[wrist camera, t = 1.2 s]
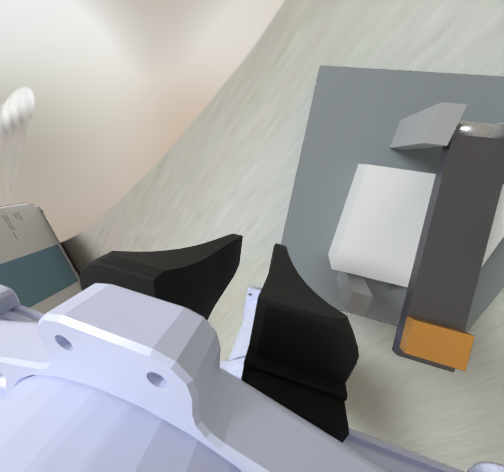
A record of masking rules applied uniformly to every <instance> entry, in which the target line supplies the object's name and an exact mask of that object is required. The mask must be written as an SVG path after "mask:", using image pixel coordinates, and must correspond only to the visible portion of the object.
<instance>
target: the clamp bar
mask: <svg viewBox="0 0 504 472" xmlns="http://www.w3.org/2000/svg"><path fill="white" fill-rule="evenodd" d="M503 182H504V125H500V124H489V123H479V122H469V121H459V123H458V125H457V127H456V129H455V131H454V133H453V135H452V137H451V139H450V141H449V143H448V145H447V146H443V148H442V152H441V156H440V160H439V164H438V168H437V172H436V176H435V180H434V184H433V188H432V192H431V196H430V200H429V204H428V208H427V212H426V216H425V220H424V224H423V228H422V232H421V236H420V240H419V244H418V248H417V252H416V256H415V260H414V264H413V268H412V272H411V276H410V280H409V284H408V288H407V292H406V296H405V300H404V304H403V308H402V312H401V316H400V320H399V324H398V328H397V332H396V336H395V340H394V344H393V348H392V350H393V351H394V352H395V353H396V354H397V355H398V356H401V357H405V358H408V359H411V360H415V361H418V362H421V363H424V364H428V365H431V366H434V367H438V368H441V369H444V370H448V371H451V372H454V370H455V368H456V369H460V370H463V371H466V367H467V363H468V360H469V356H470V352H471V348H472V344H473V341H474V337H475V336H473V335H471V334H469V333H468V332H466V331H465V328H466V324H467V320H468V316H469V312H470V309H471V305H472V301H473V297H474V293H475V289H476V286H477V282H478V278H479V274H480V270H481V266H482V263H483V259H484V255H485V251H486V247H487V243H488V240H489V236H490V232H491V228H492V224H493V220H494V217H495V213H496V209H497V205H498V201H499V197H500V194H501V190H502V186H503Z"/></svg>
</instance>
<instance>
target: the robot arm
mask: <svg viewBox="0 0 504 472" xmlns="http://www.w3.org/2000/svg"><path fill="white" fill-rule="evenodd" d="M242 238H243V236H241V235H236V234H230V235H227V236H224V237H222V238H219V239H216V240H213V241H210V242H207V243H203V244H200V245H196V246H192V247H187V248H182V249H175V250H167V251H154V252H125V251H112V252H110V253H108V254H106V255H104V256H102V257H100V258H98V259H96V260H94V261H92V262H90V263H88V264H86V265H85V266H84V267H83V268H82V270H81V273H80V284H81V288H82V292H80V293H78V294H77V295H75V296H73V297H72V298H70V299H69V300H67V301H65V302H64V303H62V304H60V305H59V306H57V307H55V308H54V309H52V310H51V311H49V312H47V313H46V314H44V313H41V312H38V311H36V310H33V309H30V308H28V307H25V306H22V305H20V301H19V298H18V296H17V295H16V293H15V292H14V291H13V290H12V289H10V288H9V287H6V286H3V285H1V284H0V472H464V471H461V470H458V469H456V468H453V467H450V466H448V465H445V464H442V463H440V462H437V461H434V460H432V459H429V458H426V457H424V456H421V455H418V454H416V453H413V452H410V451H408V450H405V449H402V448H400V447H397V446H394V445H392V444H389V443H386V442H384V441H381V440H379V439H376V438H373V437H371V436H368V435H365V434H363V433H360V432H357V431H355V430H352V429H349V428H348V421H347V415H346V409H345V402H344V401H346V399H347V391H346V385H345V383H346V381H347V379H348V378H349V376H350V374H351V372H352V370H353V369H354V367H355V365H356V363H357V360H358V357H359V354H358V346H357V343H356V339H355V336H354V333H353V330H352V327H351V325H350V323H349V320H348V318H347V316H346V315H345V314H343V313H342V312H340V311H339V310H337V309H336V308H334V307H333V306H331V305H330V304H328V303H327V302H326V301H325V300H323V299H322V298H321V297H320V296H319V295H318V294H316V293H315V292H314V291H313V290H312V289H311V288H310V287H309V286H308V285H307V284H306V282H305V281H304V280H303V279H302V278H301V276H300V275H299V273H298V272H297V270H296V269H295V267H294V265H293V263H292V261H291V259H290V256H289V253H288V250H287V247H286V246H284V245H280V244H275V246H274V249H273V254H272V259H271V264H270V269H269V274H268V276H267V279H266V281H265V283H264V286H263V288H262V290H260V289H257V288H253V287H249V288H248V291H247V297H246V303H245V309H244V316H243V322H242V325H241V328H240V330H239V333H238V336H237V338H236V341H235V343H234V346H233V348H232V351H231V354H230V356H229V359H228V361H224V360H222V361H221V364H220V365H219V359H220V344H219V340H218V336H217V333H216V331H215V329H214V328H213V327H212V326H211V325H210V324H209V322H208V321H207V320H208V318H209V316H210V314H211V312H212V310H213V308H214V306H215V305H216V303H217V301H218V300H219V298H220V297H221V295H222V294H223V292H224V291H225V289H226V288H227V286H228V284H229V283H230V281H231V280H232V278H233V277H234V275H235V272H236V270H237V268H238V266H239V262H240V254H241V246H242ZM250 293H251V294H252V295H251V294H250ZM467 472H504V466H503V465H500V464H497V463H493V462H479V463H476V464H474V465H473V466H471V467H470V469H469V470H468V471H467Z"/></svg>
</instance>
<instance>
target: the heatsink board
mask: <svg viewBox="0 0 504 472" xmlns="http://www.w3.org/2000/svg"><path fill="white" fill-rule="evenodd" d="M459 121H469V122H479V123H489V124H500V125H504V77H501V76H485V75H468V74H452V73H435V72H419V71H402V70H386V69H369V68H353V67H336V66H320V68H319V73H318V77H317V82H316V86H315V91H314V95H313V100H312V105H311V109H310V114H309V118H308V123H307V128H306V132H305V137H304V141H303V146H302V150H301V155H300V160H299V164H298V169H297V173H296V178H295V182H294V187H293V192H292V196H291V201H290V205H289V210H288V215H287V219H286V224H285V228H284V233H283V237H282V242H281V245H284V246H286V247H287V250H288V253H289V256H290V259H291V261H292V263H293V265H294V267H295V269H296V270H297V272H298V273H299V275H300V276H301V278H302V279H303V280H304V281H305V282H306V284H307V285H308V286H309V287H310V288H311V289H312V290H313V291H314V292H315V293H316V294H318V295H319V296H320V297H321V298H322V299H323V300H325V301H326V302H327V303H328V304H330V305H331V306H333V307H334V308H336V309H338V310H342V311H345V312H349V313H353V314H356V315H360V316H363V317H367V318H371V319H374V320H378V321H381V322H385V323H389V324H392V325H396V326H398V324H399V320H400V316H401V312H402V308H403V304H404V300H405V296H406V292H407V288H408V284H409V280H410V276H411V272H412V268H413V264H414V260H415V256H416V252H417V248H418V244H419V240H420V236H421V232H422V228H423V224H424V220H425V216H426V212H427V208H428V204H429V200H430V196H431V192H432V188H433V184H434V180H435V176H436V172H437V168H438V164H439V160H440V156H441V152H442V148H443V146H447V145H448V143H449V141H450V139H451V137H452V135H453V133H454V131H455V129H456V127H457V125H458V123H459ZM503 286H504V182H503V186H502V190H501V194H500V197H499V201H498V205H497V209H496V213H495V217H494V220H493V224H492V228H491V232H490V236H489V240H488V243H487V247H486V251H485V255H484V259H483V263H482V266H481V270H480V274H479V278H478V282H477V286H476V289H475V293H474V297H473V301H472V305H471V309H470V312H469V316H468V320H467V324H466V328H465V331H466V332H467V331H468V330H469V328H470V327H471V326H472V325H473V323H474V322H475V321H476V320H477V319H478V317H479V316H480V315H481V314H482V312H483V311H484V310H485V309H486V307H487V306H488V305H489V304H490V302H491V301H492V300H493V299H494V298H495V296H496V295H497V294H498V293H499V291H500V290H501V289H502V288H503Z"/></svg>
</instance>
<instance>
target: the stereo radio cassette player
mask: <svg viewBox="0 0 504 472" xmlns="http://www.w3.org/2000/svg"><path fill="white" fill-rule="evenodd" d="M0 284H1V285H3V286H6V287H9V288H10V289H12V290H13V291H14V292H15V293H16V295H17V296H18V298H19V301H20V305H22V306H25V307H28V308H30V309H33V310H36V311H38V312H41V313H44V314H46V313H47V312H49V311H51V310H52V309H54V308H55V307H57V306H59V305H60V304H62V303H64V302H65V301H67V300H69V299H70V298H72V297H73V296H75V295H77V294H78V293H80V292H82V288H81V284H80V278H79V276H78V274H77V272H76V271H75V269H74V267H73V265H72V263H71V262H70V260H69V258H68V256H67V255H66V253H65V251H64V249H63V248H62V246H61V244H60V242H59V241H58V239H57V237H56V235H55V233H54V232H53V230H52V228H51V226H50V224H49V223H48V221H47V219H46V217H45V216H44V214H43V210H41V209H40V208H39V207H36V206H35V205H34V204H32V203H20V204H14V205H7V206H0Z"/></svg>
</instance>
